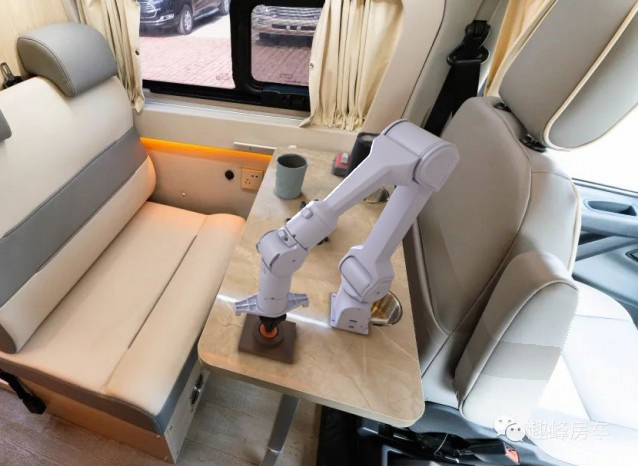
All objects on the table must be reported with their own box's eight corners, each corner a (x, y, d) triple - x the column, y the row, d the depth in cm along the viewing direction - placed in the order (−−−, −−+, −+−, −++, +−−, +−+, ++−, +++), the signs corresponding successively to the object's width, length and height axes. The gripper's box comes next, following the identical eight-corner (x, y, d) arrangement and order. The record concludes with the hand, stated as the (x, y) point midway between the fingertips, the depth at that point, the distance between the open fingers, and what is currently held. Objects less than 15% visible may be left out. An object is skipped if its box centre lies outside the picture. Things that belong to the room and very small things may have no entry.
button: (277, 328, 71) (278, 324, 70) (275, 343, 68) (275, 339, 67) (261, 324, 72) (261, 320, 70) (258, 339, 69) (258, 334, 68)
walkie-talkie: (355, 180, 118) (358, 154, 132) (359, 169, 115) (361, 144, 129) (330, 175, 120) (336, 150, 134) (333, 165, 117) (338, 140, 131)
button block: (295, 326, 73) (297, 317, 71) (290, 364, 67) (292, 355, 64) (247, 315, 76) (247, 306, 73) (237, 350, 69) (238, 342, 67)
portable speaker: (366, 184, 115) (385, 131, 102) (367, 199, 109) (386, 145, 96) (341, 180, 117) (356, 128, 104) (340, 195, 111) (356, 141, 98)
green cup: (270, 197, 110) (273, 165, 102) (275, 181, 117) (279, 151, 109) (300, 202, 108) (306, 170, 100) (304, 186, 115) (310, 155, 107)
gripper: (305, 266, 64) (295, 308, 73) (231, 275, 62) (230, 316, 71) (318, 295, 58) (305, 336, 68) (238, 305, 57) (236, 345, 66)
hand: (267, 328), depth 69 cm, fingers closed, pressing on button
